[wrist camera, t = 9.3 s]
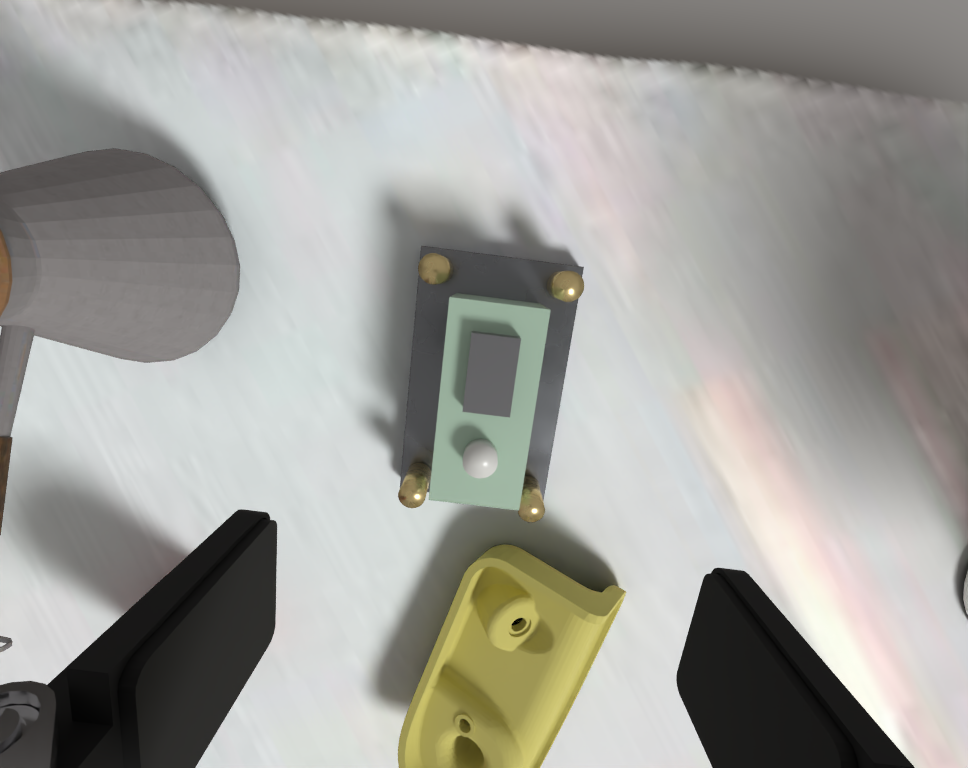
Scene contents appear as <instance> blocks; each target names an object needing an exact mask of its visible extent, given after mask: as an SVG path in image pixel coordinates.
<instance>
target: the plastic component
mask: <svg viewBox="0 0 968 768" xmlns="http://www.w3.org/2000/svg"><path fill="white" fill-rule="evenodd" d="M625 594H626V591H624V590H622V589H621V588H619V587H617V586H615V585H612V586H608V587H607V588H606V589H605V590H604V591H603V592H597V591H593V590H590V589H588V588H586V587H584V586H582V585H581V584H579V583H577V582H576V581H574V580H573V579H571V578H569V577H568V576H566V575H564V574H563V573H561V572H559V571H558V570H556V569H554V568H553V567H551V566H549V565H548V564H546V563H544V562H543V561H541V560H539V559H538V558H536V557H534V556H533V555H531V554H529V553H528V552H526V551H524V550H523V549H521V548H518V547H516V546H513V545H506V544H505V545H498V546H495V547H492V548H491V549H489V550H488V551H486V552H485V553H484V554H483V555H482V556H481V557H480V558H478V559H477V560H476V561H475V562H474V563H473V564H472V565H471V566H469V568H468V569H467V570H466V572H465V574H464V576H463V578H462V581H461V583H460V586H459V588H458V590H457V593H456V595H455V598H454V600H453V602H452V605H451V607H450V610H449V612H448V615H447V617H446V619H445V622H444V624H443V627H442V629H441V631H440V634H439V636H438V639H437V641H436V643H435V646H434V648H433V651H432V653H431V655H430V658H429V660H428V663H427V665H426V667H425V670H424V672H423V675H422V677H421V680H420V682H419V684H418V687H417V689H416V692H415V694H414V696H413V699H412V701H411V704H410V707H409V709H408V712H407V715H406V717H405V720H404V723H403V727H402V730H401V734H400V739H399V746H398V763H399V768H540V767H541V765H542V763H543V761H544V759H545V757H546V755H547V753H548V752H549V750H550V748H551V746H552V744H553V742H554V740H555V738H556V736H557V734H558V732H559V730H560V729H561V727H562V725H563V723H564V721H565V719H566V717H567V715H568V713H569V711H570V709H571V707H572V705H573V703H574V701H575V699H576V697H577V695H578V693H579V691H580V689H581V687H582V685H583V683H584V681H585V679H586V676H587V674H588V672H589V670H590V668H591V666H592V664H593V662H594V660H595V658H596V656H597V654H598V652H599V650H600V648H601V646H602V643H603V641H604V639H605V637H606V635H607V633H608V631H609V629H610V627H611V625H612V623H613V621H614V619H615V617H616V615H617V612H618V610H619V608H620V606H621V604H622V602H623V599H624V597H625ZM518 618H523V619H522V621H521V622H520V623H519V624H517V625H512V623H513V622H514V621H515V620H516V619H518Z"/></svg>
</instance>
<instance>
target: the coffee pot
mask: <svg viewBox="0 0 968 768" xmlns="http://www.w3.org/2000/svg"><path fill="white" fill-rule="evenodd" d="M239 279H240V263H239V259H238V254H237V250H236V245H235V241H234V238H233V236H232V234H231V232H230V230H229V228H228V226H227V224H226V222H225V220H224V218H223V216H222V214H221V213H220V211H219V210H218V209H217V208H216V206H215V205H214V204H213V203H212V201H211V200H210V199H209V198H208V196H207V195H206V194H205V192H204V191H203V190H202V189H201V188H200V187H199V186H198V185H197V184H195V183H194V182H193V181H192V180H190V179H189V178H188V177H187V176H185V175H184V174H183V173H182V172H180V171H179V170H178V169H176V168H175V167H173V166H171V165H169V164H167V163H165V162H163V161H160V160H158V159H156V158H154V157H152V156H150V155H147V154H144V153H138V152H132V151H127V150H121V149H105V150H96V151H87V152H82V153H78V154H74V155H70V156H66V157H62V158H58V159H54V160H50V161H46V162H42V163H38V164H34V165H29V166H25V167H21V168H17V169H13V170H9V171H5V172H1V173H0V326H2V330H1V336H0V535H1V527H2V519H3V511H4V503H5V494H6V486H7V478H8V470H9V462H10V453H11V445H12V437H10V435H11V431H12V427H13V422H14V418H15V414H16V410H17V405H18V401H19V397H20V392H21V388H22V384H23V380H24V375H25V371H26V367H27V362H28V358H29V354H30V349H31V345H32V341H33V337H34V335H35V336H39V337H42V338H46V339H50V340H53V341H57V342H61V343H64V344H68V345H72V346H76V347H79V348H83V349H87V350H90V351H94V352H98V353H101V354H105V355H109V356H112V357H116V358H120V359H126V360H132V361H138V362H144V363H150V362H161V361H171V360H175V359H178V358H181V357H183V356H186V355H188V354H191V353H193V352H196V351H197V350H199V349H200V348H201V347H203V346H204V345H205V344H206V343H208V342H209V341H210V340H211V339H213V338H214V337H215V336H216V335H217V334H218V332H219V331H220V330H221V328H222V327H223V325H224V324H225V322H226V321H227V319H228V318H229V316H230V315H231V313H232V310H233V307H234V304H235V301H236V298H237V295H238V292H239ZM0 642H3V643H7V644H5V645H4V646H2V647H0V652H2V651H4V650H6V649H8V648H9V647H11V646H12V640H11V638H7V637H3V636H0Z"/></svg>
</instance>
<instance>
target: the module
mask: <svg viewBox="0 0 968 768" xmlns="http://www.w3.org/2000/svg"><path fill="white" fill-rule="evenodd" d="M550 311H551V310H550V309H548V308H547V307H545V306H543V305H541V304H540V303H532V302H524V301H516V300H508V299H500V298H493V297H485V296H477V295H469V294H461V293H456V294H454V295H452V296H450V297H449V306H448V316H447V326H446V335H445V345H444V355H443V365H442V375H441V384H440V394H439V404H438V414H437V423H436V433H435V443H434V453H433V462H432V472H431V482H430V492H429V500H434V501H442V502H451V503H459V504H468V505H476V506H485V507H493V508H502V509H510V510H519V508H520V502H521V495H522V489H523V483H524V476H525V470H526V464H527V457H528V451H529V445H530V438H531V432H532V425H533V419H534V413H535V406H536V400H537V394H538V387H539V381H540V374H541V368H542V362H543V355H544V349H545V343H546V336H547V330H548V323H549V317H550Z"/></svg>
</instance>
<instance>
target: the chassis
mask: <svg viewBox="0 0 968 768" xmlns="http://www.w3.org/2000/svg"><path fill="white" fill-rule="evenodd" d="M583 268H584V267H579V266H572V265H564V264H556V263H549V262H541V261H533V260H526V259H518V258H510V257H503V256H495V255H487V254H480V253H472V252H464V251H457V250H449V249H441V248H434V247H426V246H421V255H420V262H419V266H418V271H419V278H418V289H417V301H416V312H415V323H414V335H413V346H412V357H411V369H410V380H409V392H408V403H407V414H406V426H405V437H404V448H403V460H402V471H401V482H400V490H399V494H398V497H399V500H400V502H401V503H402V504H403V505H404V506H406V507H408V508H416V507H419V506H420V505H422V504H423V502H424V500H425V497H426V493H427V492H430V482H431V472H432V462H433V453H434V443H435V433H436V423H437V414H438V404H439V394H440V384H441V375H442V365H443V355H444V345H445V335H446V326H447V316H448V306H449V297H450V296H452V295H454V294H456V293H461V294H469V295H477V296H485V297H493V298H500V299H508V300H516V301H524V302H532V303H540V304H541V305H543V306H545V307H547V308H548V309H550V310H551V311H550V317H549V323H548V330H547V336H546V343H545V349H544V355H543V362H542V368H541V374H540V381H539V387H538V394H537V400H536V406H535V413H534V419H533V425H532V432H531V438H530V445H529V451H528V457H527V464H526V470H525V476H524V483H523V489H522V495H521V502H520V508H519V510H518V514H519V516H520V517H521V518H522V519H523V520H524V521H526V522H536V521H538V520H540V519H541V518H542V517H543V515H544V512H545V508H544V503H543V499H544V493H545V488H546V482H547V476H548V470H549V464H550V459H551V453H552V447H553V441H554V436H555V430H556V424H557V418H558V413H559V407H560V401H561V395H562V390H563V384H564V378H565V372H566V366H567V361H568V355H569V349H570V343H571V338H572V332H573V326H574V320H575V315H576V309H577V303H578V298H579V297H580V296H581V294H582V293H583V290H584V282H583V279H582V274H583Z"/></svg>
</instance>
